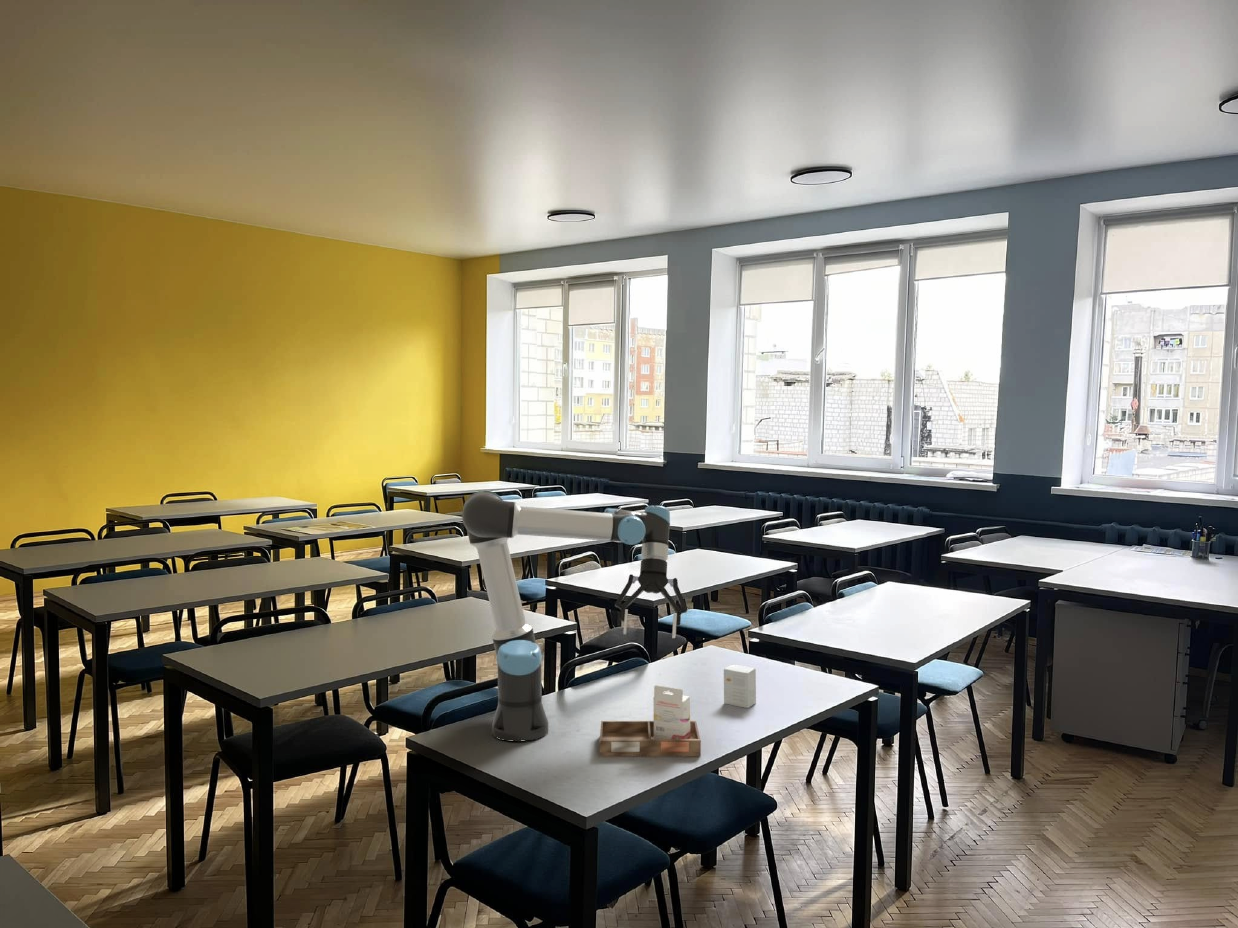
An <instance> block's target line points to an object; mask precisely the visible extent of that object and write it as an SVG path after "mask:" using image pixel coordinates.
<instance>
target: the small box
mask: <svg viewBox="0 0 1238 928" xmlns="http://www.w3.org/2000/svg"><path fill="white" fill-rule="evenodd" d="M756 670H757V669H756V668H755V667H751V666H750V667H749V666H744V665H739V664H738V665H737V664H731V665H729V666H726V667H725V668H723V704H725V705H730V706H736V707H740V708H745V709H749V708H751V707H752V706H753V705H754V704H756V703H757V675H756V674H757V671H756Z"/></svg>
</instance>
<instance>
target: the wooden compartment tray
mask: <svg viewBox="0 0 1238 928" xmlns="http://www.w3.org/2000/svg"><path fill="white" fill-rule="evenodd" d="M701 744H702V741H701V736H700V732H699V728H698V723H697V720H690V739H654V720H601V721H600V731H599V757H701V752H702V750H701V747H702V746H701Z"/></svg>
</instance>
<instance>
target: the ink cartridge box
mask: <svg viewBox="0 0 1238 928" xmlns="http://www.w3.org/2000/svg"><path fill="white" fill-rule="evenodd" d="M653 690H654V691H653V694H654V695H653V721H654V739H690V721H691V697H690V695H689V696H688V695H684V691H683V689H681V688H674V687H669V686H661V685H654V686H653Z"/></svg>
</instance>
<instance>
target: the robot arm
mask: <svg viewBox="0 0 1238 928" xmlns="http://www.w3.org/2000/svg"><path fill="white" fill-rule="evenodd" d="M461 518H462V522H463V526H464V527H465V529H466V532H467V536H468V540H469V544H470V545H471V546H473V548H474V547H475V548H476V550H477V555H478V558H479V562H480V563H479V564H480V566H481V571H482V576H483V580H484V585H485V588H486V593H487V597H488V601H489V605H490V611H491V614H492V619H493V623H494V627H495V630H494V632H493V634H492V636H491V639H492V643H493V647H494V651H495V654H496V655H495V656H496V663H497V707H496V710H495V714H494V717H493V720H492V724H491V734H493V735H494V736H495V737H498V738H500V739H504V740H513V741H521V740H532V741H534V740H533V739H536V740H539V739H541V738H543V737H545V736H546V735H548V733H549V720H548V717H547V714H546V711H545V708H544V705H543V700H542V699H543V697H542V696H543V695H542V693H543V692H542V689H543V688H542V687H543V686H542V661H543V657H542V654H543V653H542V650H541V647H540V646H539V645H538V644H537V642H536V638H535V633H534V629H533V625H531V624H530V623H528V622H527V621H526V618H525V614H524V608H523V604H522V601H521V600H522V599H521V596H520V593H519V588H518V584H517V579H516V575H515V571H514V566H513V562H512V561H513V560H512V557H511V553H510V549H509V543H508V539H513V538H515V537H516V536H517V535H519V536H532V537H533V536H535V537H545V538H546V537H548V538H562V539H563V538H564V539H575V540H589V541H590V540H592V541H607V542H613V543H614V542H617V543H623V544H626V545H633V546H634V545H637V544H639V543H640V542H641V541H642V542H641V543H642V544H641V556H640V557H641V560H640V568H639V569H640V573H639V576H638V575H637V576H636V575H633V574H632V573H631V574H629V576H628V580H627V583H626V585H625V586H624V587H623V589H622V591H621V593H619V595H618V598H617V600H616V601H615V603H614V606H615V608H618V609H619V610H620V617H619V618H620V622H623V633H622V634H623V635H627V629H628V628H627V627H628V613H629V612H628V611H629V609H627V608H628V607H629V606H630V605H631V604H632V603H633V602H634V601H635V600H636V599H637V598H638V597H639V596H640V595H641V594H642V593H643V592H644V593H646V594H651V593H652V594H656V595H657V594H659V593H660V594H661V595H662V596H663V597H664V599H665V600H666V602H667V603H668V605H669V606H670V607H671V608H672V609H673V611H674V612H673V615H672V616H673V618H672V632H671V633H672V636H671V638H672V639H676V636H677V627H679V626H680V625H681V618H682V614H686V613H687V612H688V611H689V609H688V606H687V603H686V602H685V601H686V600H685V599H684V597H683V595H682V592H681V590H680V588H679V584H678V578H677V577H674V578H668V576H667V573H668V562H667V561H668V557H669V539H670V526H671V511H670V509H668V508H667V507H665V506H662V505H648V506H646V507H645V508H644V511H634V510H627V509H626V510H625V509H619V508H611V507H610V508H608V507H607V508H606V509H604V512H596V511H584V510H571V509H557V508H547V507H534V506H520V505H519V504H518V503H517V502H516V501H507V500H504V499H503V498H502V497H501V496H500V495H498V494H497V493H495V492H494V491H490V490H480V491H477V492H474V493H472V494H471V495H470V496H469V497H468V498H467V499H466V500H465V502H464V505H463V507H462V512H461ZM636 582H637V583H638V584H639V585H640V586H639V587H638V588H637V589H636V590H635V591H634V592H633V593H632V594H631V595H630V596H629V598H628V599H627V600H625V601H624V599H625V597H626V596H627V594H628V593H629V590H630V589H631V586H632V585H633V584H635V583H636ZM668 584H669V586H670V587H671V588H672V589H673V591H674V594H675V596H676V598H677V600H678V603H679V605H680V607H679V606H678V604H677V603H676V601H675V600H674V599H673V597H672V596H671V595H670V593H669V592H668V590H667V589H666V586H667V585H668ZM623 601H624V602H623ZM622 602H623V603H622ZM493 735H492V736H493ZM494 736H493V737H494ZM495 737H494V738H495ZM540 737H541V738H540ZM538 738H539V739H538Z"/></svg>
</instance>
